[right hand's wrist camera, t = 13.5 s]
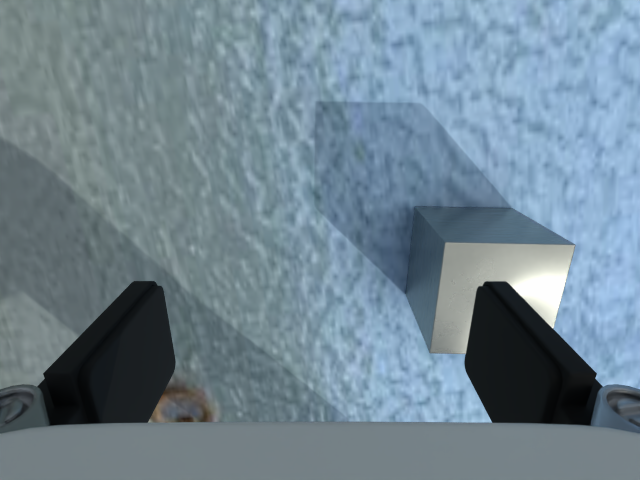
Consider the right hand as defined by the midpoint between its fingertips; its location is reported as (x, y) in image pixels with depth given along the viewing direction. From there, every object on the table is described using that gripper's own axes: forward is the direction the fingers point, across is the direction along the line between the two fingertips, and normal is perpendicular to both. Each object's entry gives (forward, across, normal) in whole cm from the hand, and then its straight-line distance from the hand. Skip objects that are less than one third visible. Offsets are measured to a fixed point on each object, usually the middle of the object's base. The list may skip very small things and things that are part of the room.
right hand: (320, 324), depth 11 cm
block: (+16, -10, +5) cm, 19 cm away
